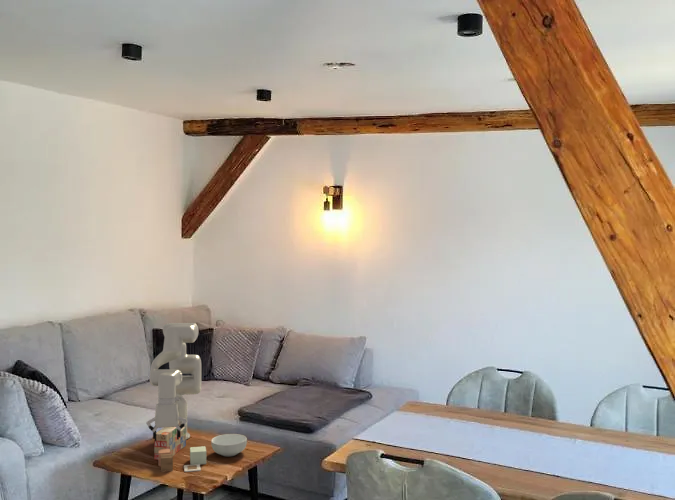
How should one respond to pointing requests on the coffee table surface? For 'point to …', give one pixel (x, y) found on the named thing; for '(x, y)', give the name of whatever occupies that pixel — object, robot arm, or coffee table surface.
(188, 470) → the tile
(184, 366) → the robot arm
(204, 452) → the sage base block
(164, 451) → the terracotta block
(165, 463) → the walnut block
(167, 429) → the stack of blocks
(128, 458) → the coffee table surface
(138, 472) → the coffee table surface
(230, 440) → the cereal bowl
